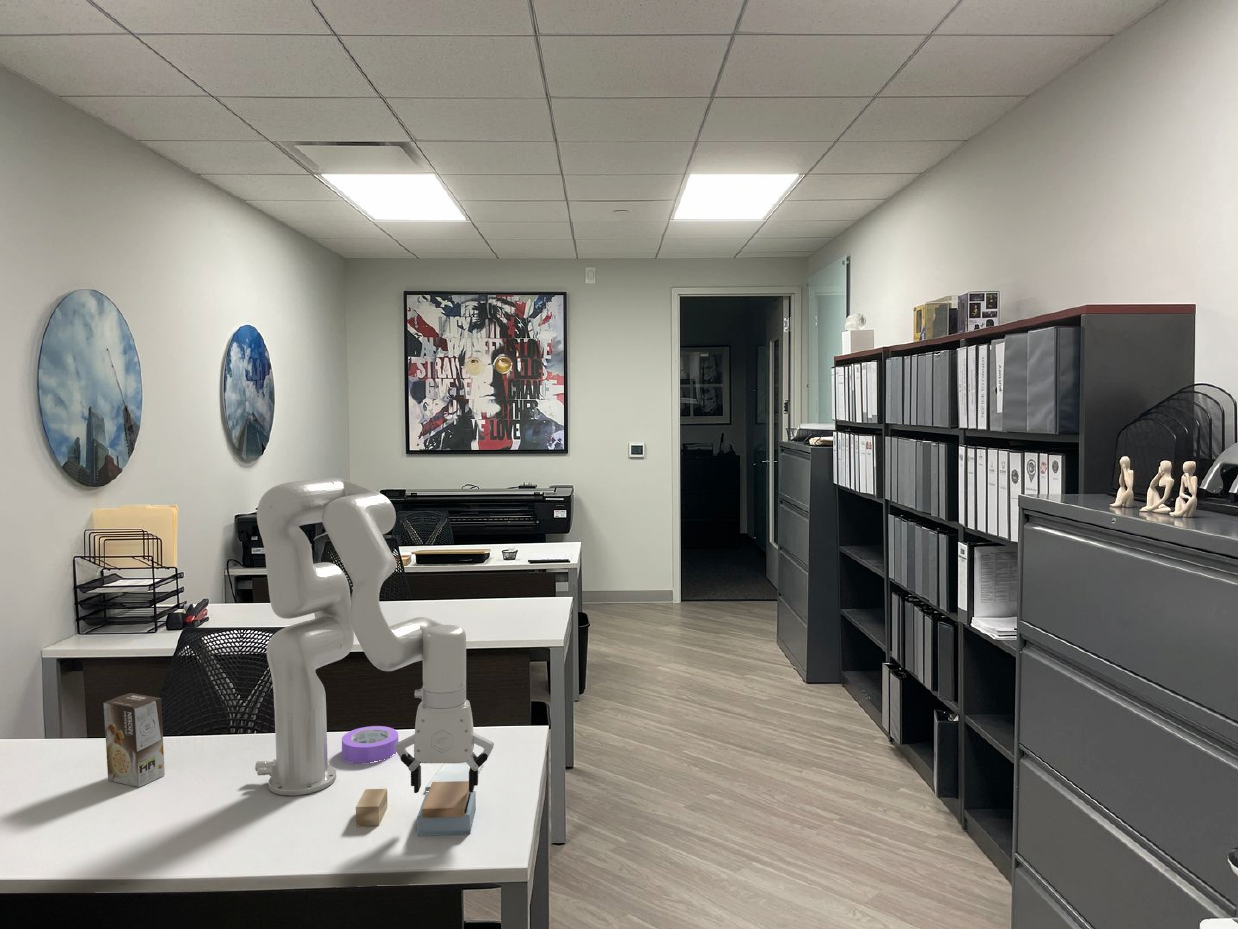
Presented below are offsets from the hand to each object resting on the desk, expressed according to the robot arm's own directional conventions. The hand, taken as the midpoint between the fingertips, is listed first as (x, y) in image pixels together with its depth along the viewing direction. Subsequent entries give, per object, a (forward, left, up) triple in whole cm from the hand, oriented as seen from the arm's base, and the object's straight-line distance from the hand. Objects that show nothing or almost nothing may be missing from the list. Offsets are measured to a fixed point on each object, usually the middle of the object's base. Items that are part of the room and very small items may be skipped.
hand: (444, 789), depth 154 cm
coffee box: (-65, +22, -6) cm, 68 cm away
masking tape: (-21, +32, -6) cm, 38 cm away
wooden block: (-14, +3, -6) cm, 15 cm away
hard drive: (-1, +17, -7) cm, 19 cm away
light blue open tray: (0, 0, -6) cm, 6 cm away
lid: (0, 0, -2) cm, 2 cm away
